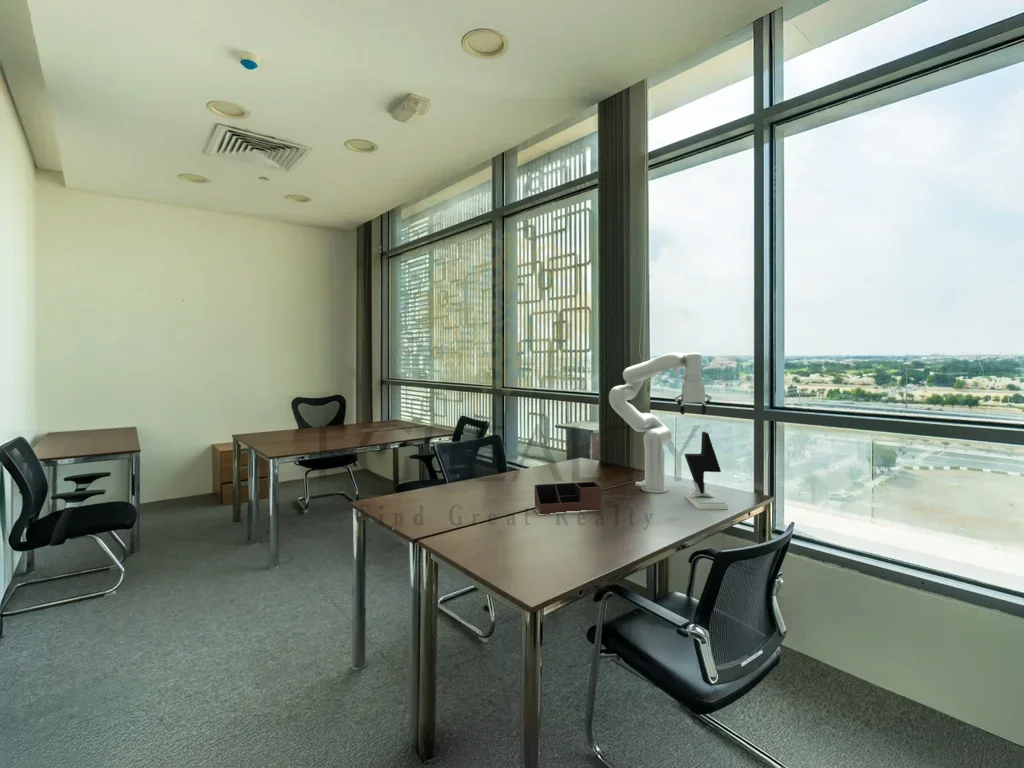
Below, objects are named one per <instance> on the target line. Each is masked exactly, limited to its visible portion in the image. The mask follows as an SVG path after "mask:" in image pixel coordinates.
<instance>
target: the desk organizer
mask: <svg viewBox="0 0 1024 768" xmlns="http://www.w3.org/2000/svg"><path fill="white" fill-rule="evenodd" d="M602 489H603V488H602V486H601V485H600V484H598V483H597V482H596V481H581V482H577V481H576V482H561V483H544V484H543V483H541V484H534V508H536V510H537V511H538V513H539V514H550V513H556V512H566V511H581V510H602V498H603V497H602V494H603V493H602Z"/></svg>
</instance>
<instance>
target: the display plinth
mask: <svg viewBox="0 0 1024 768" xmlns="http://www.w3.org/2000/svg"><path fill="white" fill-rule="evenodd" d="M693 491H694V490H693ZM693 491H692V490H691V491H690V490H688V491H685V492H684V498H685V497H686V498H687V499H688V500H689V501H688V500H687V499H686V500H687V501H688V502H689V503H690V504H691V505H693V504H694V505H695V506H696V507H697V508H698V509H697V508H696V507H695V506H694V505H693V506H694V507H695V508H696V509H697V510H708V509H717V510H718V509H729V507H728V505H729V504H728V503H727V502H726V501H725V500H723V499H722V498H721V497H720V496H718V495H717V494H716V493H715V492H713V491H710V490H705V492H707V493H709V494H711V495H712V496H713V497H714V498H712V497H708V496H704V495H701V496H698V497H694V498H691V497H690V496H689V495H688V494H690V493H692V492H693ZM718 511H719V510H718Z"/></svg>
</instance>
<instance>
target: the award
mask: <svg viewBox="0 0 1024 768" xmlns="http://www.w3.org/2000/svg"><path fill="white" fill-rule="evenodd" d="M700 450H701V451H700V453H684V457H685V460H686V462H687V466H688V468H689V472H690V474H691V476H692V479H693V480H692V482H693V485H694V487H695V490H693V492H692V493H690V494H688V495H689V496H690V497H691V498H694V497H698V496H701V495H704V496H708V497H712V498H714V497H713V496H712V495H711V494H709V493H707V492H705V491H706V486H705V485H706V483H705V482H704V479H705V473H706V472H709V473H720V472H721V467H720V464H719V461H718V459H717V455H716V452H715V449H714V447H713V443H712V441H711V437H710V434H709V433H708V432H706V431H702V432H701V449H700Z"/></svg>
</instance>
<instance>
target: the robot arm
mask: <svg viewBox="0 0 1024 768" xmlns="http://www.w3.org/2000/svg"><path fill="white" fill-rule="evenodd" d="M702 356H703V355H702V353H700V352H669V353H666V354H663V355H659V356H657V357H654V358H651V359H649V360H646V361H643V362H640V363H637V364H634V365H631V366H628V367H626V368H625V369H624V370H623V372H622V377H623V380H624V381H625V384H619V385H616V386H613V387H612V388H611V389H610V391H609V394H608V401H609V402H608V403H609V404H610V406H611V408H612V409H613V411H615V413H617V415H619V416H620V417H621V419H623V421H625V423H627V424H628V425H629V426H630V427H631V428H632V429H633V430H634V431H635V432H637V433H643V432H645V433H644V434H643V437H642V439H643V440H642V441H643V448H644V479H643V480H641V481H635V486H638V487H641V490H642V491H644V492H646V493H652V494H663V493H666V492H668V487H666V486H665V449H664V445H667V444H669V443H670V442H671V440H672V437H673V436H672V432H671V430H670V428H668V426H666V425H665V424H664V423H663V422H662V421H661V420H660V419H658V418H657V416H656V415H654V414H653V413H650V412H640V411H639V410H638V409H637V408H636V407H635V406H634V405H633V404H631V403H630V402H629V401H631V400H633V399H635V397H636V396H637V395H638V393H639V391H640V389H641V388H642V387H643V384H644V382H645V381H646V379H651V378H654V377H656V375H657V374H659V373H661V372H665V371H668V370H671V369H680V368H681V369H682V368H684V374H683V375H682V376H681V379H682V380H684V381H683V382H682V387H681V393H679V394H677V395H676V396H674V398H673V399H674V400H675V402H676V403H677V404H678V405H679V413H680V415H685V406H684V405H685V404H687V403H700V404H701V406H700V414H701V415H706V411H707V405H709V403H710V402H711V400H712V399H713V397H712V395H709V394H707V393H706V391H705V384H704V383H705V382H704V381H702V376H703V375H702V373H703V372H702V367H703V366H702V365H703V363H702V360H703V359H702V358H703V357H702ZM680 398H681V401H680ZM706 398H707V399H706Z"/></svg>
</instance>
